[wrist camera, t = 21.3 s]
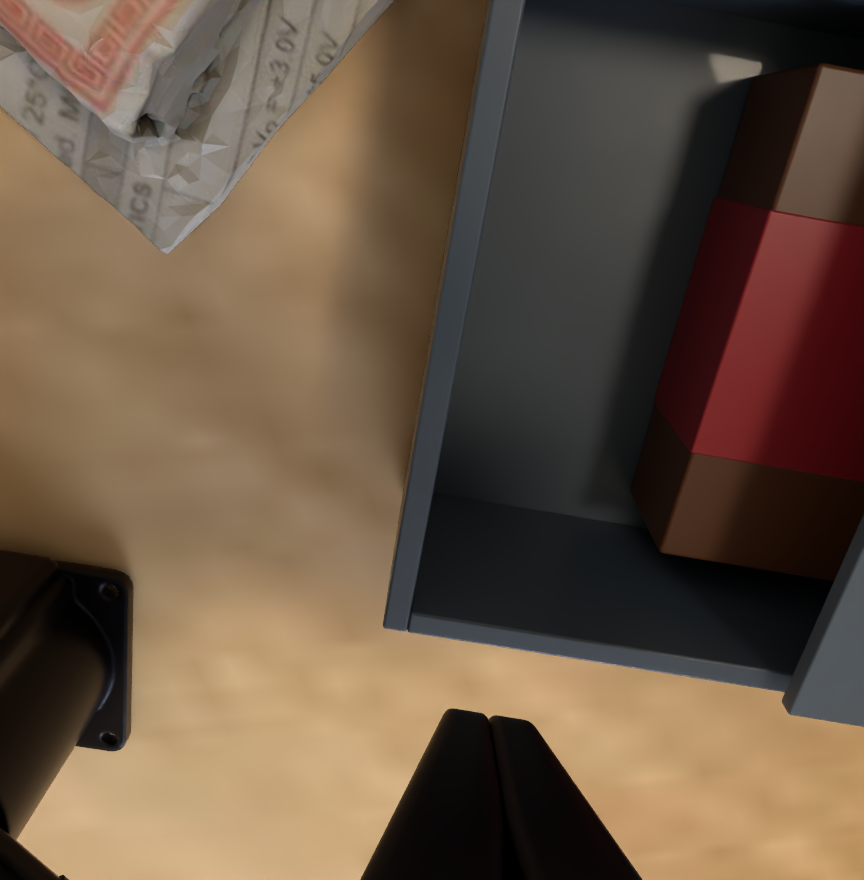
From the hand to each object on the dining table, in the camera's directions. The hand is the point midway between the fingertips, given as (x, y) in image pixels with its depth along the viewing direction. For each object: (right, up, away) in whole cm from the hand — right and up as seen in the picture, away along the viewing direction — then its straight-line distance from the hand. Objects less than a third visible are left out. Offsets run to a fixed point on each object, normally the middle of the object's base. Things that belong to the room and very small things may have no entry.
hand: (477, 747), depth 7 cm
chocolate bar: (+8, +6, +11) cm, 14 cm away
